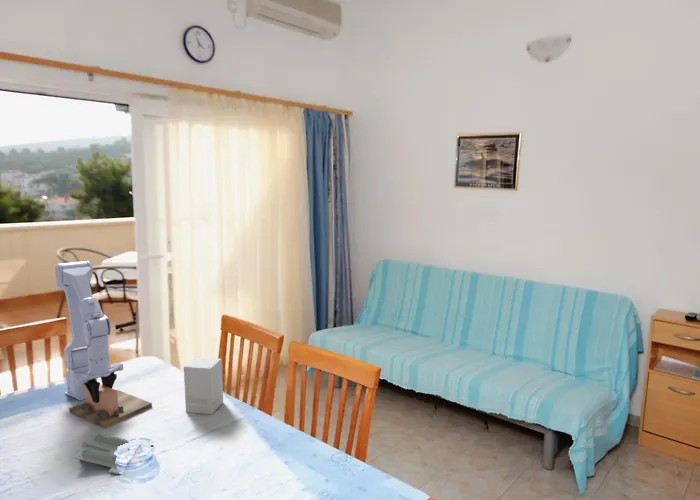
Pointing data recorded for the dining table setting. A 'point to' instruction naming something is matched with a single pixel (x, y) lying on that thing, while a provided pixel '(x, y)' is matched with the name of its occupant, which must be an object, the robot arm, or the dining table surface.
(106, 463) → the grey-green ridged piece
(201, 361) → the supplement box
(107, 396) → the door panel
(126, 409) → the cabinet side board
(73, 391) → the robot arm
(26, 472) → the dining table surface
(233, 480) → the dining table surface
